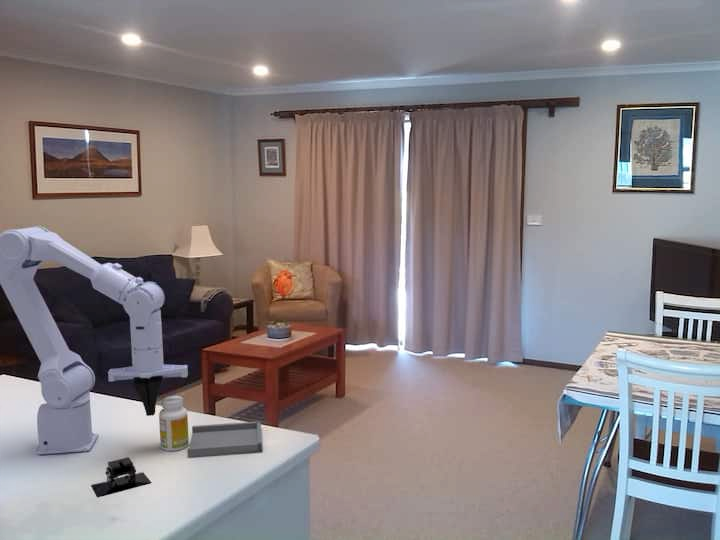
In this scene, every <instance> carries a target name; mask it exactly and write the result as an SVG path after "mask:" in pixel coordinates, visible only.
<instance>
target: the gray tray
mask: <svg viewBox="0 0 720 540" xmlns="http://www.w3.org/2000/svg"><path fill="white" fill-rule="evenodd" d="M191 428H192V429H191V431H192V434H191V437H190V441H189V446H188V447H187V450H186V451H187V458H197V457H198V458H200V457H211V456H212V457H213V456H226V454H228V455H238V454H251V453H252V454H253V453H262V452H263V443H262V442H263V441H262V422H261V421H245V422H232V423H217V424H202V425H192V427H191Z"/></svg>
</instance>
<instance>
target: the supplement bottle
mask: <svg viewBox="0 0 720 540" xmlns="http://www.w3.org/2000/svg"><path fill="white" fill-rule="evenodd" d="M161 407H162V409H161V410H160V411H159V413H158V420H159V438H160V439H159V443H160V448H161V449H162V450H164V451H166V452H175V451H181V450H184V449H185V448H188V447H189V445H190V441H189V423H188V420H189V419H188V417H189V416H188V410H187V408H186V407H184V397H182V396H180V395H171V396H167V397H164V398H162V400H161Z"/></svg>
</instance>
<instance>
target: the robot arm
mask: <svg viewBox="0 0 720 540" xmlns="http://www.w3.org/2000/svg"><path fill="white" fill-rule="evenodd" d="M44 261H54V262H55V263H57V264H60V265H62V266H64V267H66V268H68V269H69V270H71V271H73V272H75V273H78V274H80V275H82V276H84V277H85V278H87V279H89V280H90V282H91V285H92V288H93V289H94V290H96V291H98V292H99V293H101V294H103V295H105V296H106V297H108V298H110V299H111V300H114V301H115V302H117V303H118V304H121V305H122V307H123V309H124V311H125V313H126V314H127V315H128V316H129V325H130V326H129V329H130V340H131V341H130V342H131V343H130V345H131V360H132V361H131V363H132V366H127V367H119V368H110V369H109V370H108V372H107V374H108V375H107V377H108V382H109V383H110V382H116V381H123V380H124V381H126V380H133V383H132V385H133V388H134V390H135V391H136V394H138V396H139V397H140V400H141V401H142V404H143V407H144V411H145V416H146V417H148V416H149V417H150V416H154V415H155V414H156V405H157V400H158V396H159V393H160V389H161V387H162V384H163V381H164V379H165V378H177V377H180V378H187V377H188V373H189V370H188V364H183V365H182V364H165V363H164V350H163V349H164V346H163V328H162V326H163V325H162V315H161V314H162V311H161V309H160V308H162V307H163V305H164V304H165V299H166V298H165V297H166V296H165V292H164V290H163V289H162V287H160V285H158V284H157V282H154V281H145V282H144V279H143V278H142V277H141V276H138V277H136V276H134V275H132V274H131V273H129V272H128V271H125V270H124V269H123V268H122V267H123V265H121V264H120V263H118V262H116V263H112V262H105V263H103V264H102V263H100V262H98V261H97V260H95V259H93V258H92V257H90V256H88V255H87V254H86V253H84V252H83V251H81V250H79V249H78V248H76V247H75V246H73V245H72V244H70V243H69V242H67V241H65V240H64V239H62V238H61V236H59V235H58V234H57V233H56V232H53V231H50V230H48V229H47V228H45V227H44V226H40V225H35V226H30V227H26V228H18V229H17V228H16V229H7V230H6V229H5V230H4V231H2V232H1V233H0V286H1V288H2V290H3V291H4V293H5V295H6V297H7V300H8V301H9V303H10V305H11V307H12V309H13V311H14V314H15V315H16V317H17V319H18V321H19V322H20V325H21V327H22V329H23V330H24V333H25V334H26V337H27V338H28V340H29V342H30V344H31V346H32V348H33V349H34V351H35V354H36V355H37V357H38V360H39V361H40V367H39V371H38V375H37V379H38V380H39V382H40V386H41V397H42V398H43V400H44V401H45V402H46V403H41V404H40V405H39V407H38V410H37V415H36V425H37V426H36V428H37V437H38V438H37V441H38V451H37V454H38V455H49V454H50V455H51V454H64V453H66V454H67V453H80V452H90V451H91V449H92V447H93V446H94V444H95V443H96V441H97V439H98V438H99V433H93V426H92V424H93V423H92V411H91V408H92V407H91V398H90V395H91V394H90V391H91V390H92V388H93V387H94V385H95V383H96V376H95V373H94V370H93V369H92V368H91V367H90V366H89V365H88V364H86V363H85V362H84V361H83V359H82V358H81V355H79V354H78V353H76V352H74V351H72V350H70V348H69V347H68V344H67V342H66V341H65V339H64V337H63V335H62V333H61V331H60V329H59V327H58V325H57V323H56V321H55V319H54V318H53V315H52V313H51V312H50V309H49V307H48V306H47V303H46V301H45V299H44V298H43V295H42V294H41V292H40V290H39V288H38V286H37V284H36V282H35V280H34V278H35V275H36V273H37V270H38V269H39V267H40V265H41V264H42V263H43V262H44Z"/></svg>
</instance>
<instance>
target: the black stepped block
mask: <svg viewBox="0 0 720 540" xmlns="http://www.w3.org/2000/svg"><path fill="white" fill-rule="evenodd" d="M105 470H106V471H105V472H104V473H105V475H106V481H102V482H98V483H94V484H91V485H90V487H91V489H92V491H93V493H94V494H95V497H96V498H102V497H105V496H109V495H113V494H116V493H117V494H118V493H121V492H123V491H127V490H128V491H129V490H132V489H134V488H135V489H136V488H140V487H143V486H147V485H151V484H153V483H152V481H151V479H149V477H148V476H147V475H146V474H145V472H143V471H141V472H137V469H136V467H135V465H134V462H133V461H132V459H131V458H130V457H124V458H120V459H115V460H110V461H108V462H107V467H106V468H105ZM136 472H137V473H136Z"/></svg>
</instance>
